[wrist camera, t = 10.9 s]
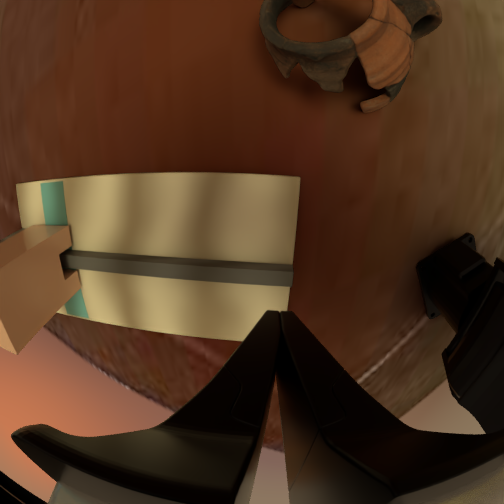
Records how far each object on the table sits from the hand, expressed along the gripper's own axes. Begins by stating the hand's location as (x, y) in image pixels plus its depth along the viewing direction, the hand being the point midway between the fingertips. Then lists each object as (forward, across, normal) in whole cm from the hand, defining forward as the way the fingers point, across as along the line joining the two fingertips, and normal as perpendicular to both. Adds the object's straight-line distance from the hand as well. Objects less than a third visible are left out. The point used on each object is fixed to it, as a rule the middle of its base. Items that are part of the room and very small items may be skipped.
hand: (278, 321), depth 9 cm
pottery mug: (+12, -5, -13) cm, 19 cm away
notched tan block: (+11, +20, +4) cm, 23 cm away
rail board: (+12, +11, +4) cm, 17 cm away
